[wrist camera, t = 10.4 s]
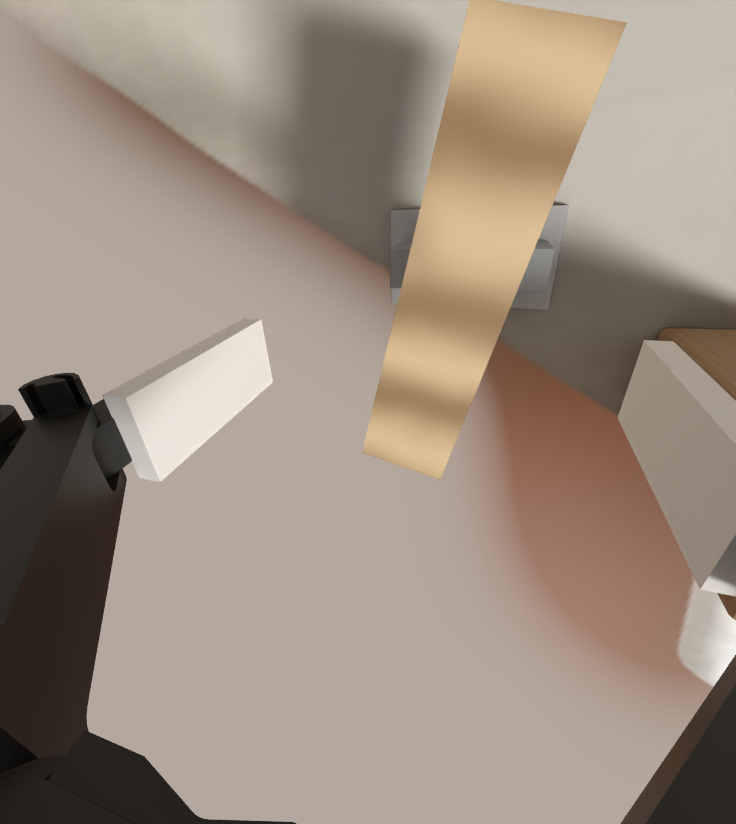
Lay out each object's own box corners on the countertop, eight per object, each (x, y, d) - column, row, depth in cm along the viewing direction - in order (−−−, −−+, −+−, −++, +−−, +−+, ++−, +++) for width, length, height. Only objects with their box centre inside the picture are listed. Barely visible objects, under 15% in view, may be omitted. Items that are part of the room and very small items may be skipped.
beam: (478, 42, 20) (470, -4, 15) (594, 63, 19) (627, 22, 14) (382, 412, 33) (362, 452, 28) (449, 434, 33) (440, 479, 28)
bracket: (392, 210, 33) (360, 217, 26) (567, 204, 30) (589, 212, 22) (392, 302, 37) (366, 331, 30) (547, 307, 34) (560, 343, 26)
